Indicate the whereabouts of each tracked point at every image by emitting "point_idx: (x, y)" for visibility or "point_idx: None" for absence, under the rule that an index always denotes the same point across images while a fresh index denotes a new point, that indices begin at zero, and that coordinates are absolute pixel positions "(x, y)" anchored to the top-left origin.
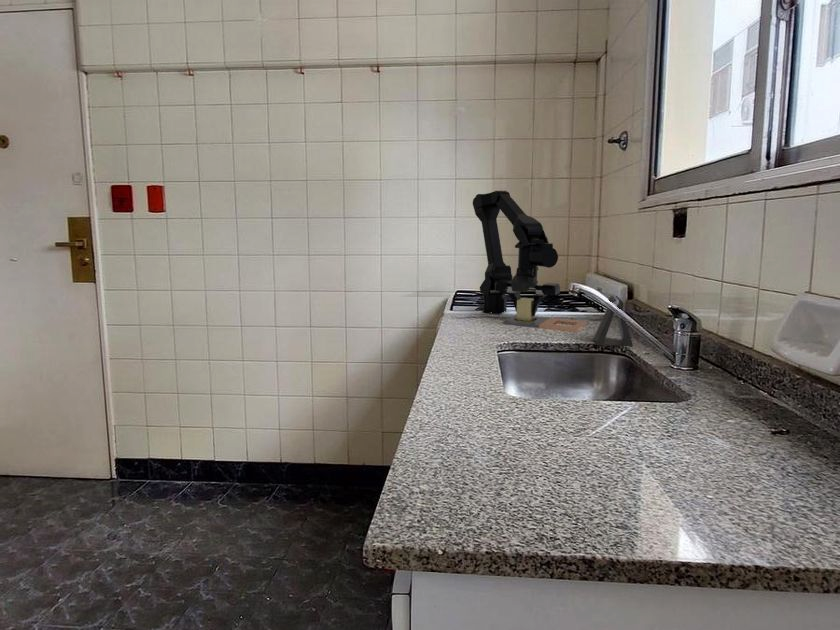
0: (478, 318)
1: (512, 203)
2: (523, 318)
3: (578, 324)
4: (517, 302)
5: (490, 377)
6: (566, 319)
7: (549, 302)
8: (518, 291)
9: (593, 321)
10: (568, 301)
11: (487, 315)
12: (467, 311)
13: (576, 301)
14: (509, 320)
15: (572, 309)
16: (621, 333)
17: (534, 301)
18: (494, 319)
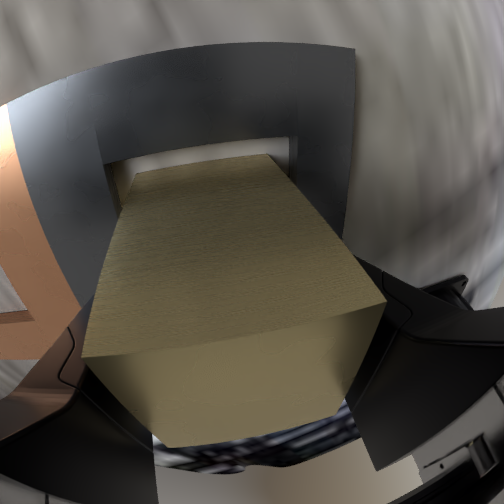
0: (482, 157)
1: None
2: (203, 177)
3: None
4: (354, 271)
5: None
6: (36, 356)
7: (274, 453)
8: (403, 456)
9: (12, 387)
10: (238, 467)
11: (451, 244)
12: (496, 258)
13: (223, 471)
14: (320, 105)
15: (181, 451)
16: None
17: (69, 378)
18: (423, 173)
